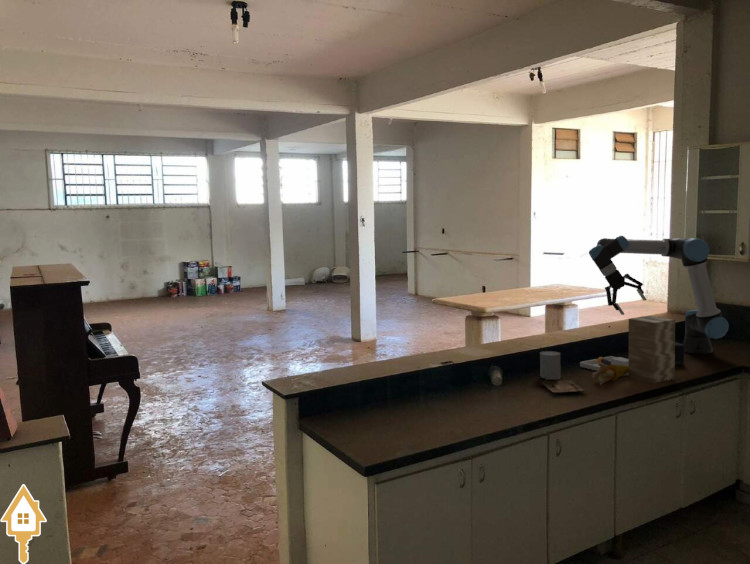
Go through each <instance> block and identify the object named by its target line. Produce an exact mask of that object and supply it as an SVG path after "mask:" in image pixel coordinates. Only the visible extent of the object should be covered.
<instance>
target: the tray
mask: <svg viewBox="0 0 750 564" xmlns="http://www.w3.org/2000/svg"><path fill="white" fill-rule="evenodd" d="M617 357H618V356H612V355H610V356H604V357H603V358H605V359H607V360H610V361H611V358H617ZM597 360H598V358H594V359H589V360H584V361H580V362H579V367H580V368H582V369H586V368H587V370H590V369H591V370H590V371H594V370H595V371H594V372H597V370H596V369H598V368H600V366H599V364H598V362H597ZM606 366H608V365H606ZM623 377H629V372H628V373H627V374H625V375H623V376H620V377H619V378H623Z"/></svg>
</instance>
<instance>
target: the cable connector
mask: <svg viewBox="0 0 750 564" xmlns="http://www.w3.org/2000/svg"><path fill="white" fill-rule="evenodd" d="M616 357H617V358H611V361H610V360H607V359H605V358H604V357H603V356H599V357H598V358H597V359H598V360H597V362H598V363H601V362H602V363H604V364H605V365H608V366H609V365H611V364H613V365H622V366H628V367H629V358H625V357H622V356H616Z"/></svg>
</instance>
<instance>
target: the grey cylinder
mask: <svg viewBox="0 0 750 564" xmlns="http://www.w3.org/2000/svg"><path fill="white" fill-rule="evenodd" d="M539 365H540V366H539V368H540V369H539V372H540V373H539V374H540V376H541V377H542V378H546V379H560V378H561V374H562V371H561V369H562V368H561V352H560V351H559V352H558V351H554V350H553V351H552V350H544V351H540V352H539ZM560 380H561V379H560Z"/></svg>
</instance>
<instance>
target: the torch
mask: <svg viewBox="0 0 750 564" xmlns="http://www.w3.org/2000/svg"><path fill="white" fill-rule="evenodd" d="M598 364H599V366H600V368H598V369H596V370H597V371H594V372H592V373H591V374H592V378H593V379H595V380H596V382H599V385H603V384H606V383H607V382H608V381H612V382H613V381H614V382H615V381H616V380H617V379H619V378H621V377H620V376H623V375H625V374H627V373H628V372H629V367H628V366H622V365H613V364H611V365H609V366H606V365H605V364H604V363H602V362H601V363H598ZM623 377H624V376H623Z"/></svg>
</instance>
